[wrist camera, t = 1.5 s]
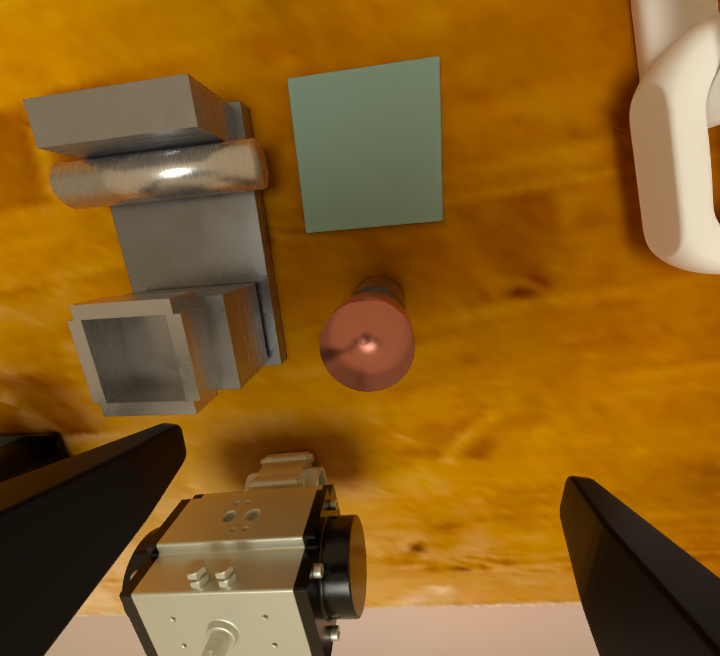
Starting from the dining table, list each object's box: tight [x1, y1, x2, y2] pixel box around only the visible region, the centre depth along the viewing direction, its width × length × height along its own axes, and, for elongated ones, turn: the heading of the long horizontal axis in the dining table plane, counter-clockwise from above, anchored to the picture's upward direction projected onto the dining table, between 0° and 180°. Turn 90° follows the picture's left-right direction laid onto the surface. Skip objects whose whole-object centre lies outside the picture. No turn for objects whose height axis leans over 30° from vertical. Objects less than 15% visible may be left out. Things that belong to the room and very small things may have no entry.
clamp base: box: [23, 74, 287, 365], centre depth 19 cm, size 15×11×5 cm
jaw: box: [67, 283, 268, 416], centre depth 19 cm, size 6×8×6 cm
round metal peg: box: [320, 276, 415, 392], centre depth 17 cm, size 4×4×9 cm
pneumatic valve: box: [120, 451, 367, 656], centre depth 20 cm, size 6×12×12 cm, turn 100°
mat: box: [287, 56, 443, 233], centre depth 19 cm, size 8×8×1 cm
